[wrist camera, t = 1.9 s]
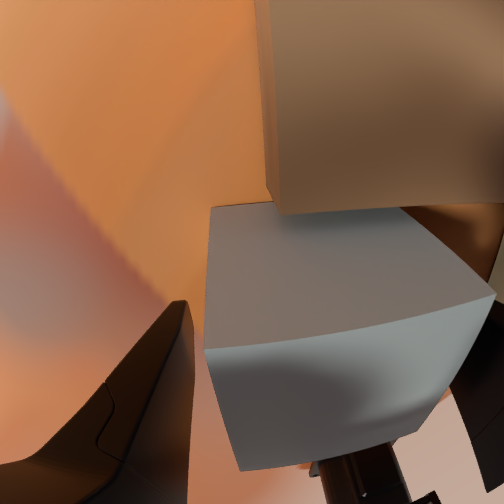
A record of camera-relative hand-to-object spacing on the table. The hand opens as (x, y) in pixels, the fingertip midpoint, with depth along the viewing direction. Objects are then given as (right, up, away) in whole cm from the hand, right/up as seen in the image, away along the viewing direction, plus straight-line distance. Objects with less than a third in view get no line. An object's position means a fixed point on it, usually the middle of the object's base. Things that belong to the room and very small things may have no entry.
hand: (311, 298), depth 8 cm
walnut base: (+5, +10, -4) cm, 12 cm away
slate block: (0, +1, +1) cm, 1 cm away
